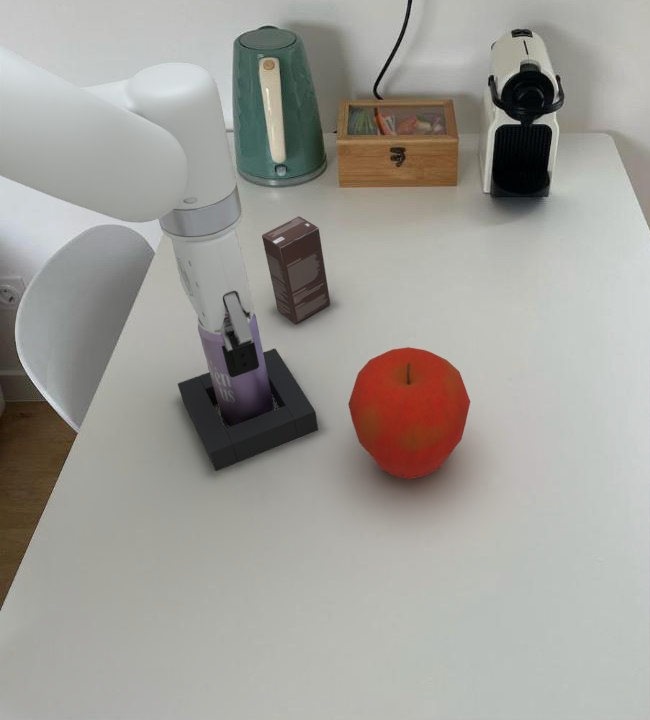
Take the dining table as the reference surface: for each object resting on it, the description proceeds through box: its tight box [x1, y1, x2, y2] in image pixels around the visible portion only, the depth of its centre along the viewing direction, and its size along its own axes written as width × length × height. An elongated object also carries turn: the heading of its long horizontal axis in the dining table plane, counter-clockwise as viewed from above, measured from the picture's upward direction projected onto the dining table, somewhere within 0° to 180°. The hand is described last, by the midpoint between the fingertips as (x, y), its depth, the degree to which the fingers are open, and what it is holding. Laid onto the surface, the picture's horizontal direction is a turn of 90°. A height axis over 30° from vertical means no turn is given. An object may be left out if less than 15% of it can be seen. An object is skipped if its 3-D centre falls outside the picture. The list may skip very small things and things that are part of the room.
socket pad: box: [177, 348, 319, 472], centre depth 92 cm, size 12×12×3 cm
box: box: [261, 215, 331, 324], centre depth 103 cm, size 6×4×12 cm
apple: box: [347, 346, 471, 480], centre depth 82 cm, size 12×12×14 cm
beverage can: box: [197, 313, 275, 428], centre depth 88 cm, size 6×6×15 cm
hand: (233, 351), depth 86 cm, fingers closed on beverage can, 6 cm apart
